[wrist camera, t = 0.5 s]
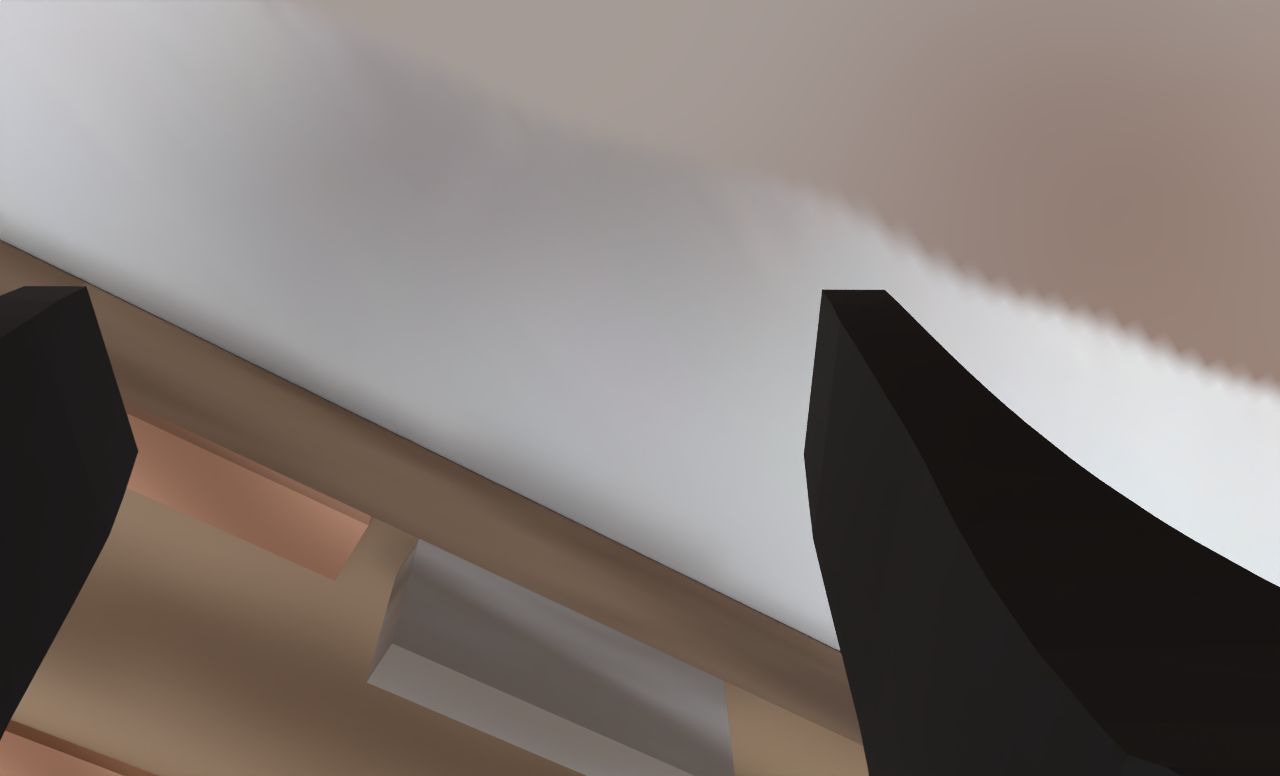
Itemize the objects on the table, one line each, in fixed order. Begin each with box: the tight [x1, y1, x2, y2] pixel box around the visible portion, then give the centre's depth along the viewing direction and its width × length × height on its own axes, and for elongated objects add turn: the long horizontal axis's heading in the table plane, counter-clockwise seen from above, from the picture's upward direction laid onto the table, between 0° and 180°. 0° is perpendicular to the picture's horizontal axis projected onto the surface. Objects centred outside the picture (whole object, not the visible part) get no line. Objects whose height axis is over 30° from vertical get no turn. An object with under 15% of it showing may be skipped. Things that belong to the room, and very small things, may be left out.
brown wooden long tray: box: [0, 241, 869, 776], centre depth 24 cm, size 10×30×6 cm, turn 58°
